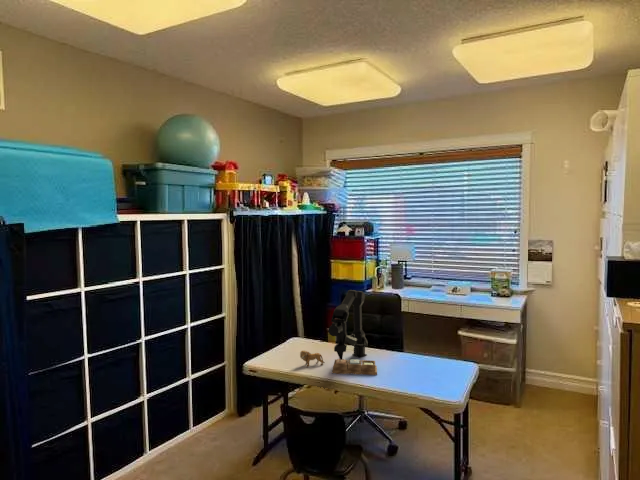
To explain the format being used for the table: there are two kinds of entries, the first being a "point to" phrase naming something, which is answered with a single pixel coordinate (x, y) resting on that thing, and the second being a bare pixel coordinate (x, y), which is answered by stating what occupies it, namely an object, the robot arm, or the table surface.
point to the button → (354, 361)
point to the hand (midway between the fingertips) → (341, 359)
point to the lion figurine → (311, 357)
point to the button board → (355, 368)
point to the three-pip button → (341, 361)
